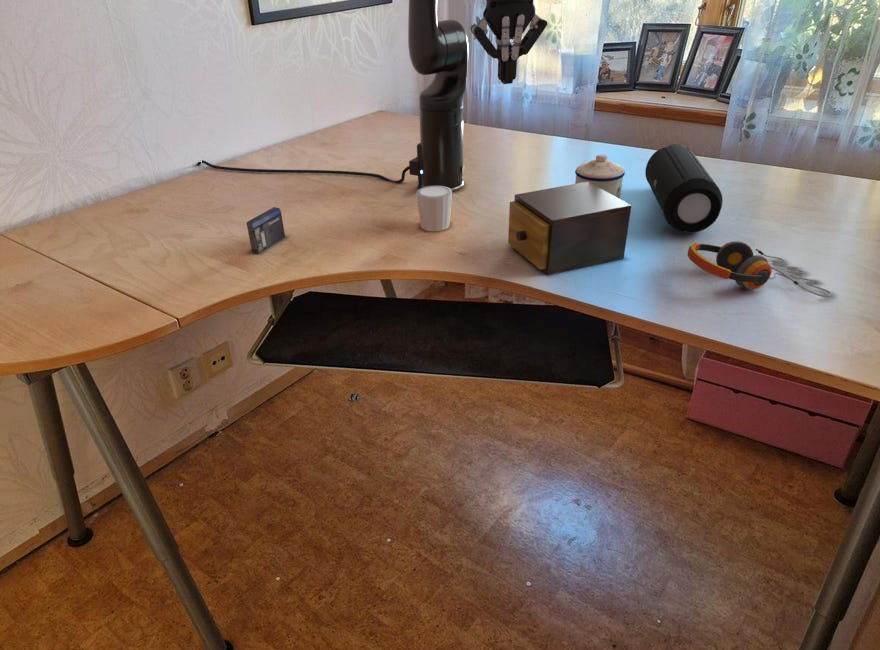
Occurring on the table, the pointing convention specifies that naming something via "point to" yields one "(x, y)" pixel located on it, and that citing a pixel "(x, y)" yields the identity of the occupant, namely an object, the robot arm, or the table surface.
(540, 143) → the table surface
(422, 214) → the white faceted cylinder
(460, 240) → the table surface
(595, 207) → the cabinet
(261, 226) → the mini dv tape
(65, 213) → the table surface
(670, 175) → the portable speaker
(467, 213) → the table surface
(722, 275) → the headphones
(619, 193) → the teacup with lid
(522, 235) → the wooden drawer
